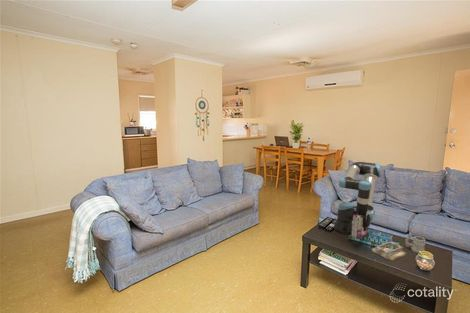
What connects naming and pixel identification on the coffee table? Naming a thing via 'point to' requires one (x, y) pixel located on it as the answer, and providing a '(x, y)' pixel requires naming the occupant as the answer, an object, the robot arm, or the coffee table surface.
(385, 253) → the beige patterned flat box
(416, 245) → the mug
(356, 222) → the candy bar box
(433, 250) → the coffee table surface
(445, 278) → the coffee table surface
